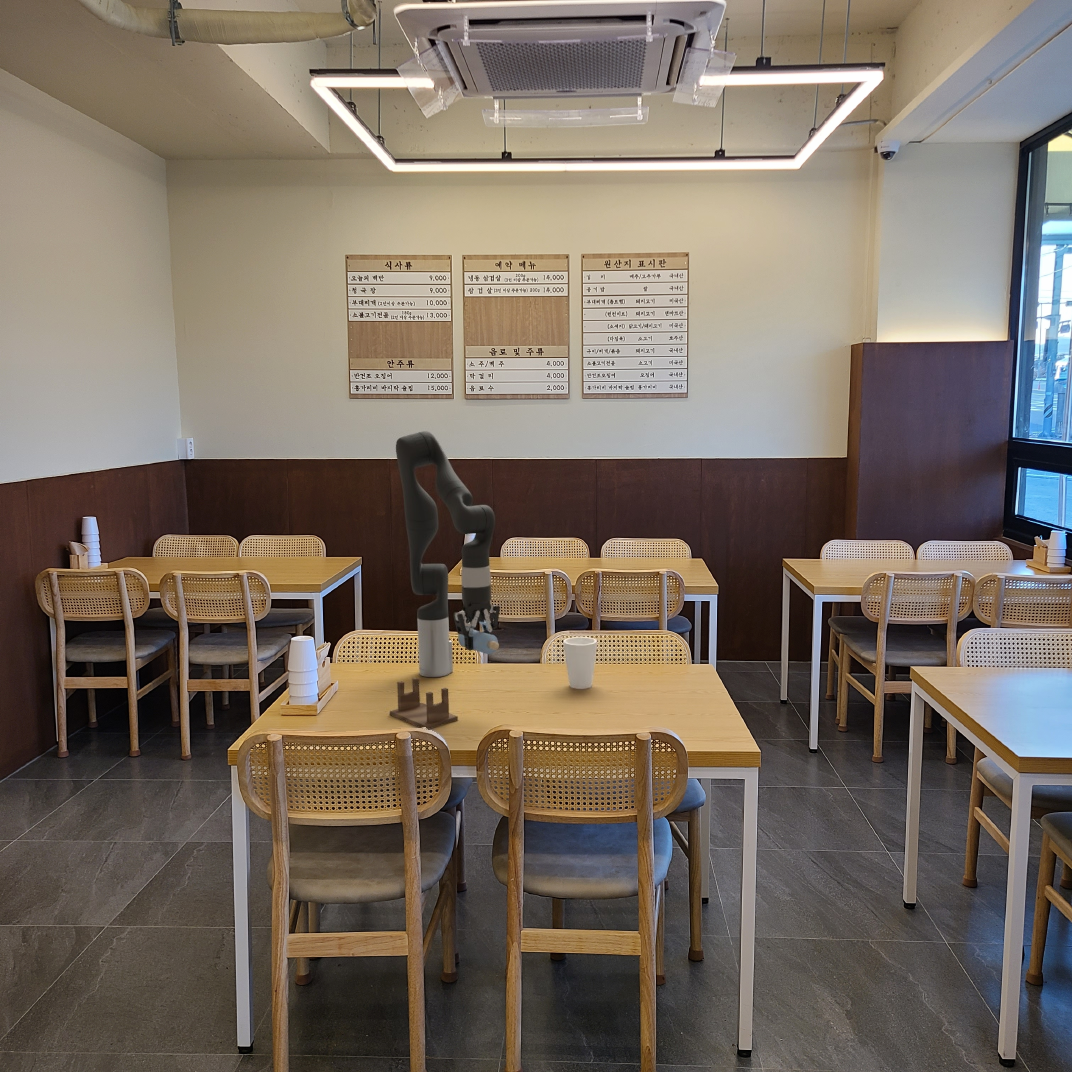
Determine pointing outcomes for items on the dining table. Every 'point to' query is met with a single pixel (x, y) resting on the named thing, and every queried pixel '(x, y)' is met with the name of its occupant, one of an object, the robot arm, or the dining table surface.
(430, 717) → the roll holder
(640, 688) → the dining table surface
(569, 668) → the foam cup
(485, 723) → the dining table surface
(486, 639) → the towel roll
